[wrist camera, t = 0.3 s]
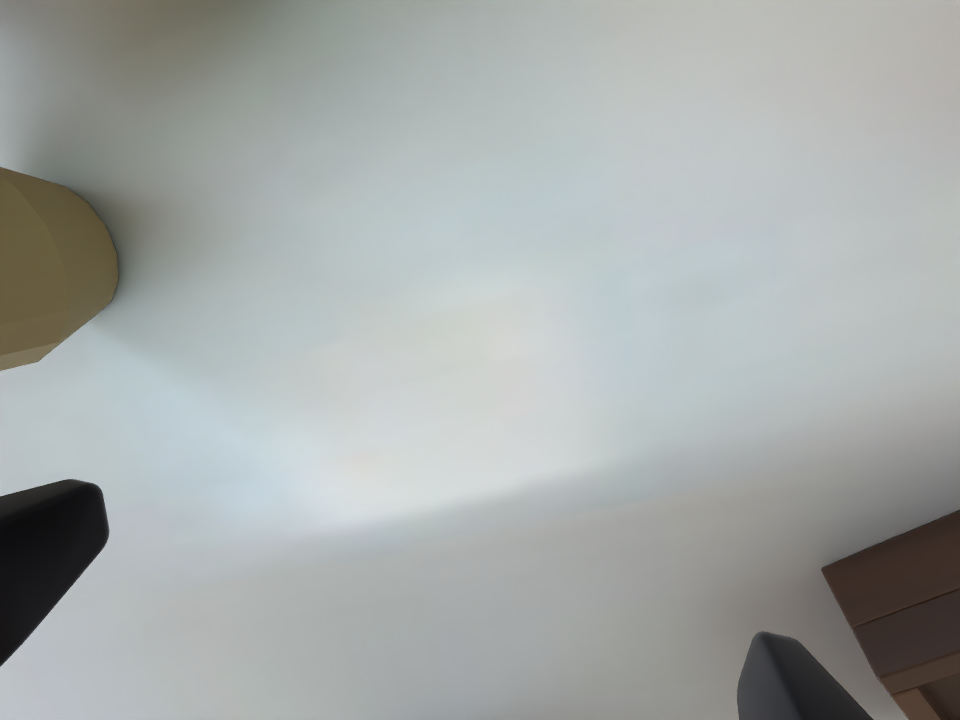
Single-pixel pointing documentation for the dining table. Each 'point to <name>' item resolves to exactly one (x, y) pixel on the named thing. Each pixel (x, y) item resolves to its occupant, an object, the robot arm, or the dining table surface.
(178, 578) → the dining table surface
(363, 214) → the dining table surface
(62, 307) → the squeeze bottle
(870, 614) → the dark brown wooden tray
